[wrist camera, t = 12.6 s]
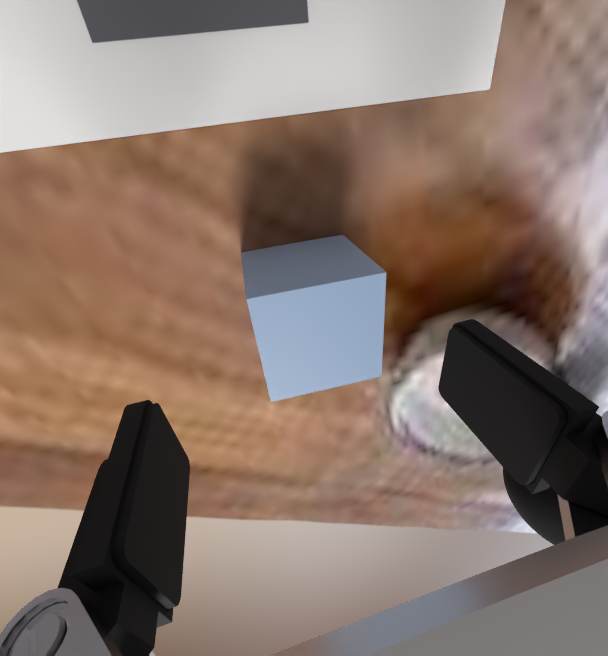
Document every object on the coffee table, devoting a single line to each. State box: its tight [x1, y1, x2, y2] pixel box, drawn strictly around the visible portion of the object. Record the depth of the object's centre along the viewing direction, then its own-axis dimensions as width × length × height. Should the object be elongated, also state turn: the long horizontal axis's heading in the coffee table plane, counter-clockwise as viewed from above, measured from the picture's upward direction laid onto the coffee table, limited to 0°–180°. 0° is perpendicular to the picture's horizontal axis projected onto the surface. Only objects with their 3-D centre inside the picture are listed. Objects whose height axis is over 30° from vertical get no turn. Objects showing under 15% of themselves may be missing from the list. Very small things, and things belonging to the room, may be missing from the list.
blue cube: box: [241, 235, 386, 402], centre depth 14 cm, size 5×5×5 cm
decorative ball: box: [503, 467, 566, 545], centre depth 25 cm, size 10×10×10 cm
